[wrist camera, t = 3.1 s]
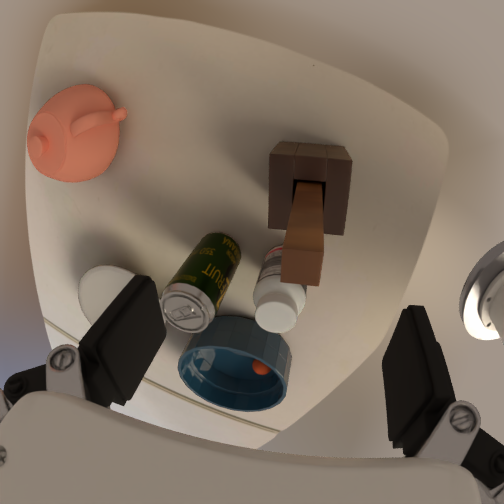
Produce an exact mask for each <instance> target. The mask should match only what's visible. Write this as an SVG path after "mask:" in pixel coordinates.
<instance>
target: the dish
mask: <svg viewBox="0 0 504 504" xmlns="http://www.w3.org/2000/svg"><path fill="white" fill-rule="evenodd" d="M135 275H136V274H134V273H133V272H131V271H129V270H127V269H124V268H121V267H118V266H114V265H99V266H96V267H93V268H91V269H89V270H88V271H87V272H86V273H85V274H84V275H83V276H82V278H81V280H80V282H79V286H78V299H79V303H80V306H81V309H82V311H83V313H84V315H85V317H86V318H87V320H88V321H89V322H90V324H91V325H93V324H94V323H95V322H96V321H97V319H98V318H99V317H100V316H101V314H102V313H103V312H104V311H105V310H106V308H107V307H108V306H109V305H110V304H111V302H112V301H113V300H114V299H115V298H116V296H117V295H118V294H119V293H120V292H121V291H122V289H123V288H124V287H125V286H126V285H127V284H128V282H129V281H130V280H131V279H132V278H133V277H134V276H135ZM159 303H160V299H159ZM163 319H164V323H166V320H165V318H164V316H163Z"/></svg>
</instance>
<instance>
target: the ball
mask: <svg viewBox="0 0 504 504" xmlns="http://www.w3.org/2000/svg"><path fill="white" fill-rule="evenodd" d="M252 367H253V370H254V371H255V372H256V373H257V374H260V375H265V374H267V373H269V372H270V371H271V368H270V367H268V366H267V365H265V364H264V363H262V362H261V361H259V360H257V359H254V361H253V364H252Z"/></svg>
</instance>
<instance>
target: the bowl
mask: <svg viewBox="0 0 504 504" xmlns="http://www.w3.org/2000/svg"><path fill="white" fill-rule="evenodd" d="M254 359H257V360H259V361H261V362H262V363H264V364H265V365H267V366H268V367H270V368H271V371H270V372H269V373H267V374H265V375H260V374H257V373H256V372H255V371H254V370H253V367H252V364H253V361H254ZM291 360H292V356H291V353H290V349H289V346H288V345H287V344H286V342H285V341H284V340H283V338H282V337H281V336H280V335H278V334H277V333H273V332H269V331H266V330H264V329H263V328H261V327H260V326H259V325H258V323H257V322H256V321H254V320H250V319H246V318H242V317H238V316H219V317H214V320H213V321H212V322H211V323H210V324H209V325H208V326H207V327H206V329H205V330H203V331H201V332H198V333H192V334H191V336H190V338H189V340H188V342H187V344H186V346H185V348H184V350H183V352H182V354H181V356H180V358H179V362H178V371H179V375H180V377H181V379H182V380H183V382H184V383H185V385H186V386H187V387H188V388H189V389H190V390H192V391H193V392H194V393H195V394H196V395H198V396H199V397H201V398H203V399H204V400H206V401H208V402H210V403H212V404H215V405H217V406H219V407H223V408H227V409H230V410H235V411H244V412H254V411H263V410H267V409H270V408H273V407H274V406H276V405H278V404H280V403H281V401H282V400H283V399H284V398H285V396H286V392H287V385H288V379H289V373H290V366H291Z"/></svg>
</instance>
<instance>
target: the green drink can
mask: <svg viewBox="0 0 504 504" xmlns="http://www.w3.org/2000/svg"><path fill="white" fill-rule="evenodd" d="M240 259H241V251H240V248H239V246H238V243H237V242H236V241H235V239H234V238H233V237H231V236H230V235H228V234H225V233H222V232H215V233H211V234H207V235H206V236H205V237H203V238H202V239H201V241H200V242H199V243H198V245H197V246H196V247H195V249H194V250H193V251H192V253H191V254H190V255H189V257H188V258H187V259H186V261H185V262H184V263H183V265H182V266H181V267H180V269H179V270H178V271H177V273H176V274H175V276H174V277H173V278H172V280H171V281H170V282H169V284H168V285H167V287H166V288H165V290H164V292H163V293H162V298H161V300H160V307H161V311H162V315H163V316H164V318H165V320H167V321H168V322H169V323H170V324H171V325H172V326H174V327H175V328H177V329H179V330H181V331H184V332H188V333H198V332H201V331H203V330H205V329H206V327H207V326H208V325H209V324H210V323H211V322H212V321H213V320H214V317H215V315H216V313H217V311H218V309H219V306H220V304H221V302H222V300H223V298H224V295H225V293H226V291H227V289H228V287H229V285H230V282H231V280H232V278H233V276H234V274H235V271H236V269H237V267H238V265H239V263H240Z"/></svg>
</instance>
